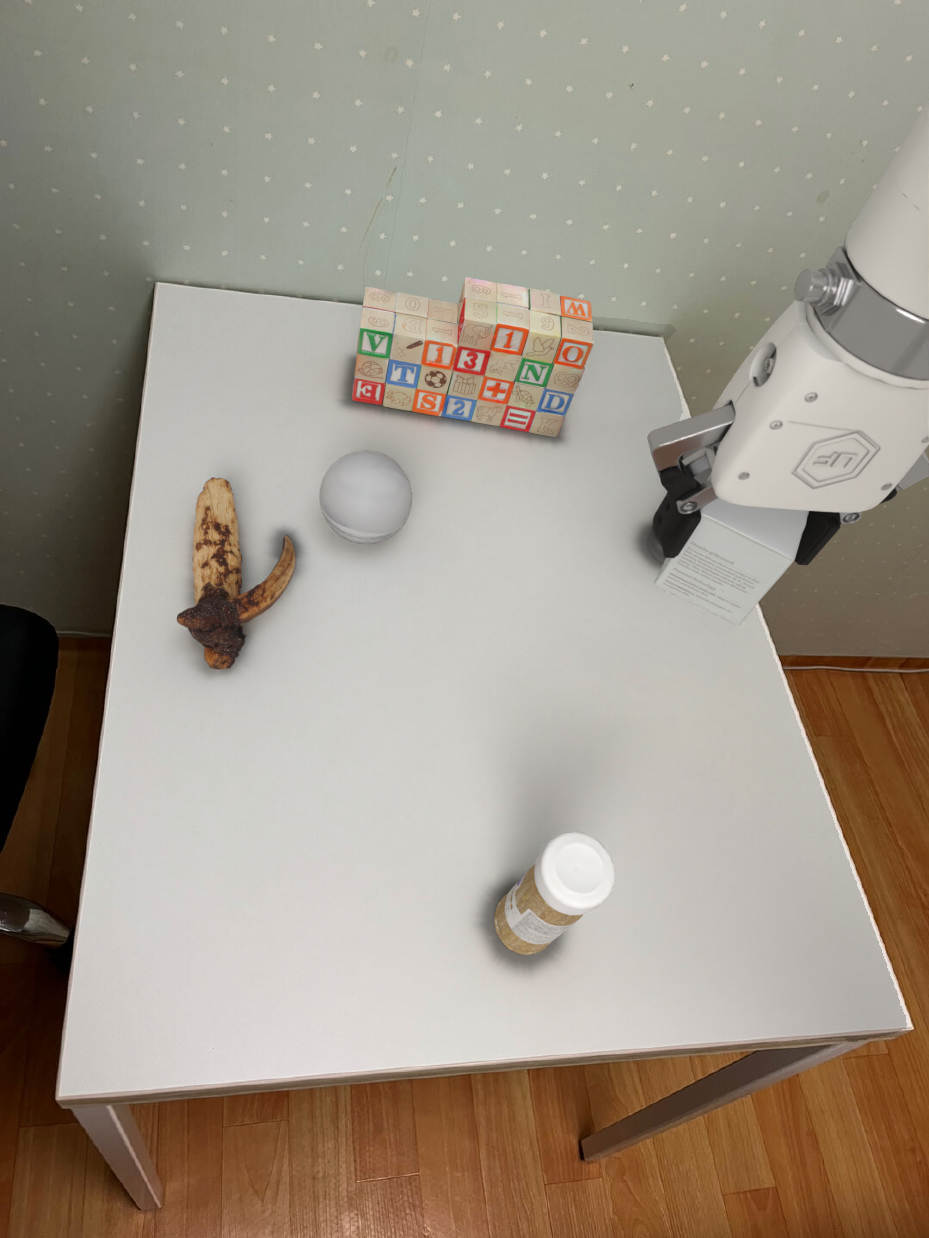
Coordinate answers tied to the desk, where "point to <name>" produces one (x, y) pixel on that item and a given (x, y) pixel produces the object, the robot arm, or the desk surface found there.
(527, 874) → the sprinkles bottle
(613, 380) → the desk surface
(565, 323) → the stack of blocks
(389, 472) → the bath bomb
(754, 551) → the product box
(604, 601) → the desk surface
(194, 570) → the lashed bone hook
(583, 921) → the desk surface
